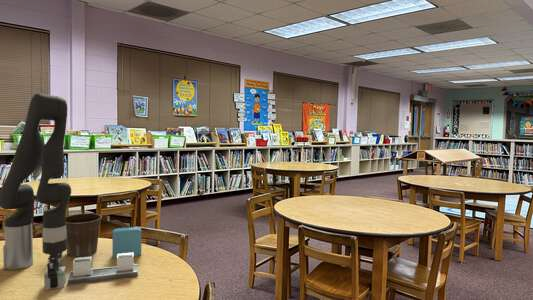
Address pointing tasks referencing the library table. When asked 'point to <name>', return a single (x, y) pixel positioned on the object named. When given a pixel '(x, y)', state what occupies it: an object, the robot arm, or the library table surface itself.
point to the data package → (126, 241)
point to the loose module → (60, 278)
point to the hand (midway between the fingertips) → (55, 284)
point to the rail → (102, 269)
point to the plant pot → (82, 234)
